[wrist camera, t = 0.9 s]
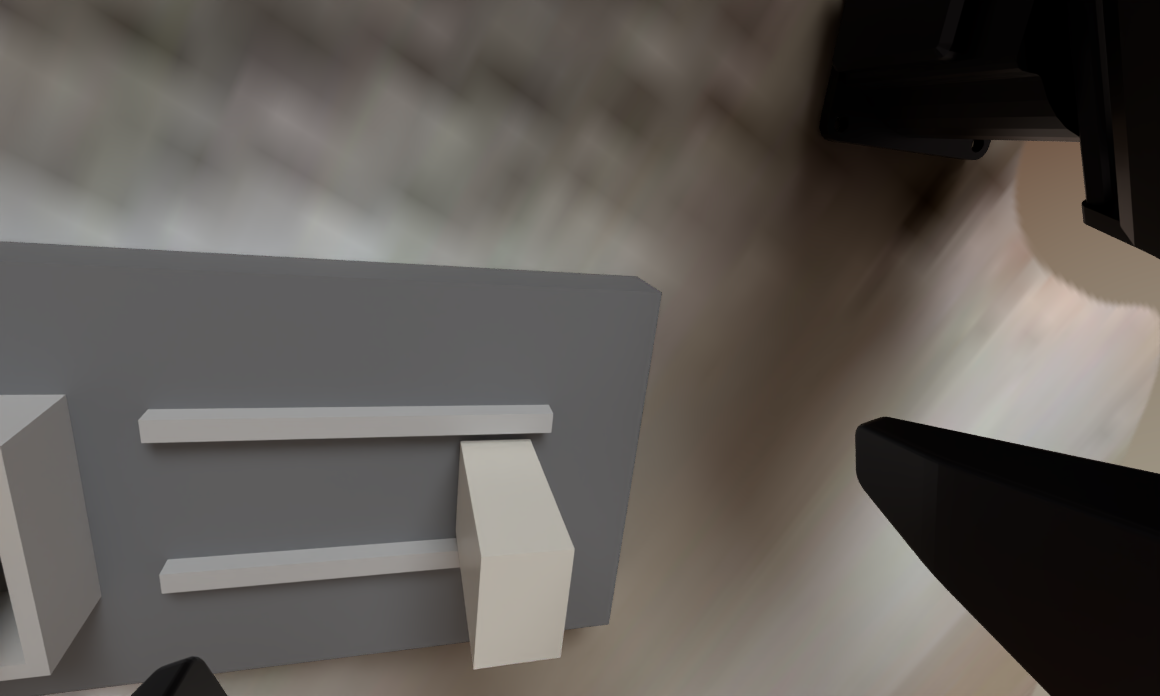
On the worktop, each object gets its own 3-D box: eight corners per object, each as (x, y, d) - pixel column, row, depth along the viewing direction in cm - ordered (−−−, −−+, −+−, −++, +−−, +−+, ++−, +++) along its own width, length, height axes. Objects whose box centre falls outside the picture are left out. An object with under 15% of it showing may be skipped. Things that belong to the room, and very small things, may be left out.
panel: (637, 276, 19) (701, 317, 15) (592, 584, 23) (633, 684, 19) (-709, 202, 11) (-1354, 246, 7) (-434, 691, 15) (-748, 902, 11)
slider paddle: (530, 439, 17) (574, 549, 13) (521, 526, 18) (560, 657, 14) (460, 441, 17) (481, 557, 12) (455, 531, 18) (473, 669, 13)
